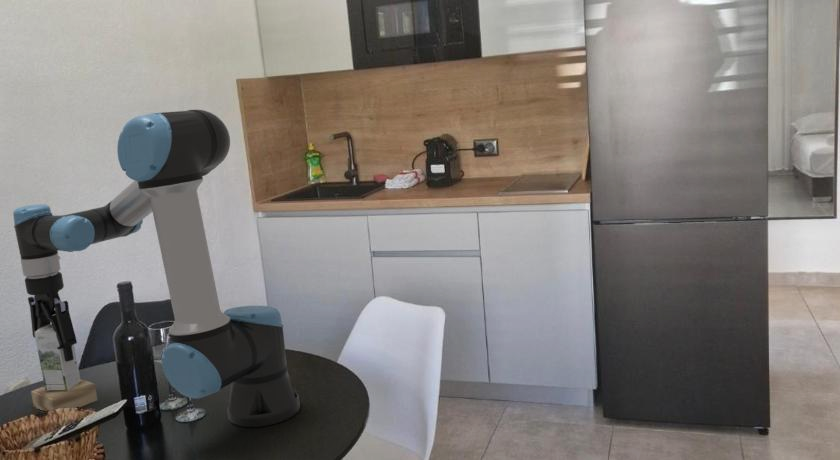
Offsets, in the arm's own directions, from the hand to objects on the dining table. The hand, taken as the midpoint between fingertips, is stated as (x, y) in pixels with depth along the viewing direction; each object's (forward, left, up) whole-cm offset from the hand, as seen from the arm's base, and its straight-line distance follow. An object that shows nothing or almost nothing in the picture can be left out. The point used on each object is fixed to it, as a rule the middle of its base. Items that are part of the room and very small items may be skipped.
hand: (60, 370), depth 176 cm
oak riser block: (0, 0, -8) cm, 8 cm away
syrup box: (0, 0, -4) cm, 4 cm away
